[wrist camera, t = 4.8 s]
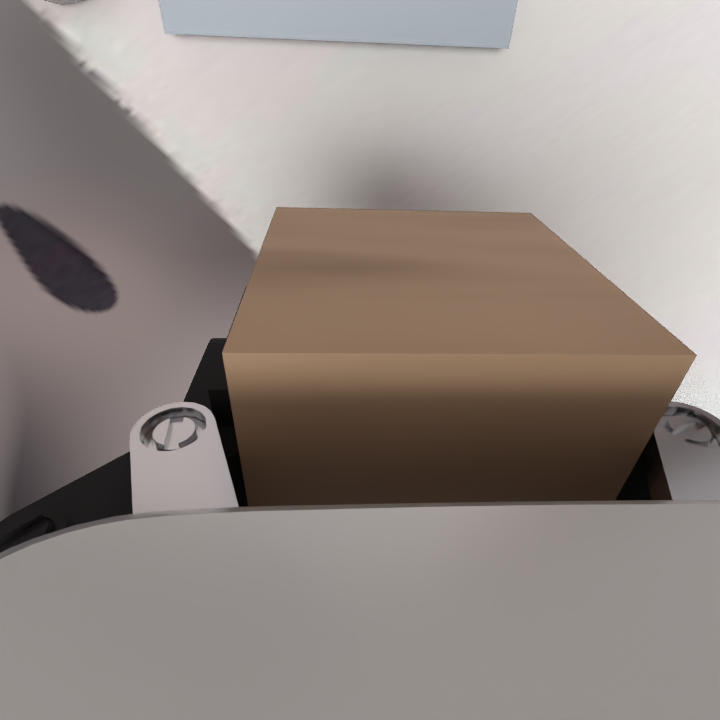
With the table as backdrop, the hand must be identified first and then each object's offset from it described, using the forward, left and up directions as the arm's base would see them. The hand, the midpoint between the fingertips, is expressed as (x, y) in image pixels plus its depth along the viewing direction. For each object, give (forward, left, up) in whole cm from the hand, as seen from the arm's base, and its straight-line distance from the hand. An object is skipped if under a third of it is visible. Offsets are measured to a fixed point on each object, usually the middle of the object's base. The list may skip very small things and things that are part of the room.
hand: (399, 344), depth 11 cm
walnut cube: (0, 0, -1) cm, 1 cm away
